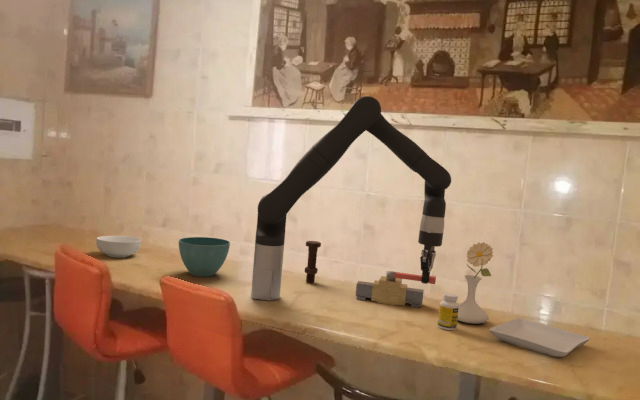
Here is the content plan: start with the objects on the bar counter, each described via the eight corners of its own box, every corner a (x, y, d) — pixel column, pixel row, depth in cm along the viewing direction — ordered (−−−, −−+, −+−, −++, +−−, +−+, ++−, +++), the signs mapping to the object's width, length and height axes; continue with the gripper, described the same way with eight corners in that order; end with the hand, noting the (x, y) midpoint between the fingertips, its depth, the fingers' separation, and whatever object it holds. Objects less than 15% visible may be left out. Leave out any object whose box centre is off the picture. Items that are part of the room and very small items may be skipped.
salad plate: (590, 347, 157) (592, 335, 157) (565, 364, 141) (566, 351, 141) (516, 327, 171) (517, 316, 171) (485, 341, 155) (487, 328, 155)
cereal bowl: (149, 257, 226) (150, 239, 225) (114, 262, 212) (115, 243, 211) (121, 250, 235) (122, 233, 234) (86, 254, 221) (87, 236, 220)
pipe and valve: (421, 308, 182) (423, 286, 181) (354, 299, 186) (356, 277, 186) (422, 303, 189) (424, 281, 188) (357, 294, 193) (359, 273, 193)
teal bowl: (191, 282, 191) (194, 246, 190) (167, 270, 205) (169, 237, 204) (237, 277, 203) (239, 244, 202) (211, 267, 217) (213, 236, 216)
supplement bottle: (452, 332, 159) (456, 298, 159) (434, 327, 162) (438, 294, 161) (458, 327, 164) (462, 295, 163) (441, 323, 167) (444, 291, 166)
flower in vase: (442, 316, 175) (450, 237, 173) (471, 315, 180) (480, 237, 178) (468, 329, 163) (477, 244, 161) (499, 327, 168) (508, 245, 166)
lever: (435, 283, 185) (436, 276, 185) (434, 285, 182) (435, 278, 182) (386, 277, 189) (387, 269, 189) (385, 279, 186) (386, 271, 186)
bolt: (315, 284, 202) (318, 243, 201) (301, 283, 203) (305, 242, 202) (318, 281, 208) (321, 241, 207) (305, 279, 209) (308, 240, 208)
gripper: (424, 226, 188) (417, 277, 189) (415, 229, 175) (408, 284, 177) (446, 230, 185) (440, 281, 186) (439, 233, 172) (432, 288, 174)
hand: (424, 283), depth 181 cm, fingers closed
